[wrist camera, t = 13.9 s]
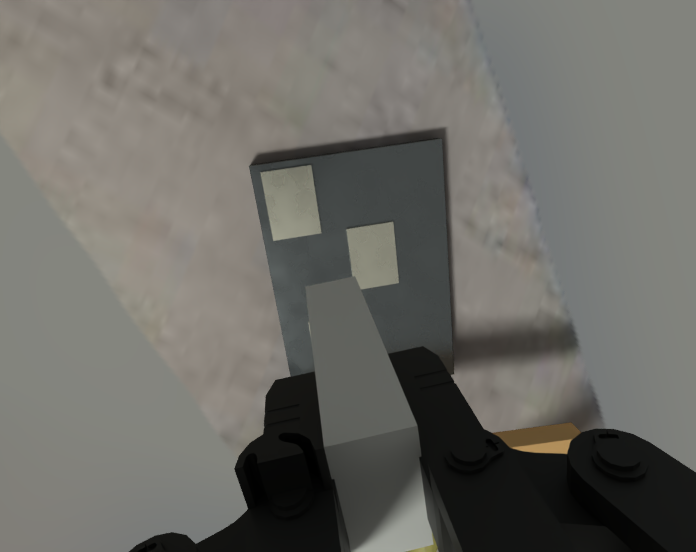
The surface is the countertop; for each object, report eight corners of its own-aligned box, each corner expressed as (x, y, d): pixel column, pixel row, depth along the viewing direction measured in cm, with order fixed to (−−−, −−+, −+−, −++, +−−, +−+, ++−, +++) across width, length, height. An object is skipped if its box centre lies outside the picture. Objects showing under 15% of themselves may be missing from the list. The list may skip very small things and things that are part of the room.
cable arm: (278, 493, 34) (278, 517, 32) (273, 451, 33) (273, 473, 31) (565, 453, 37) (581, 472, 35) (571, 412, 36) (589, 430, 33)
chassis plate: (249, 165, 32) (248, 166, 31) (437, 138, 33) (442, 138, 32) (296, 397, 39) (296, 406, 38) (450, 368, 40) (454, 375, 39)
